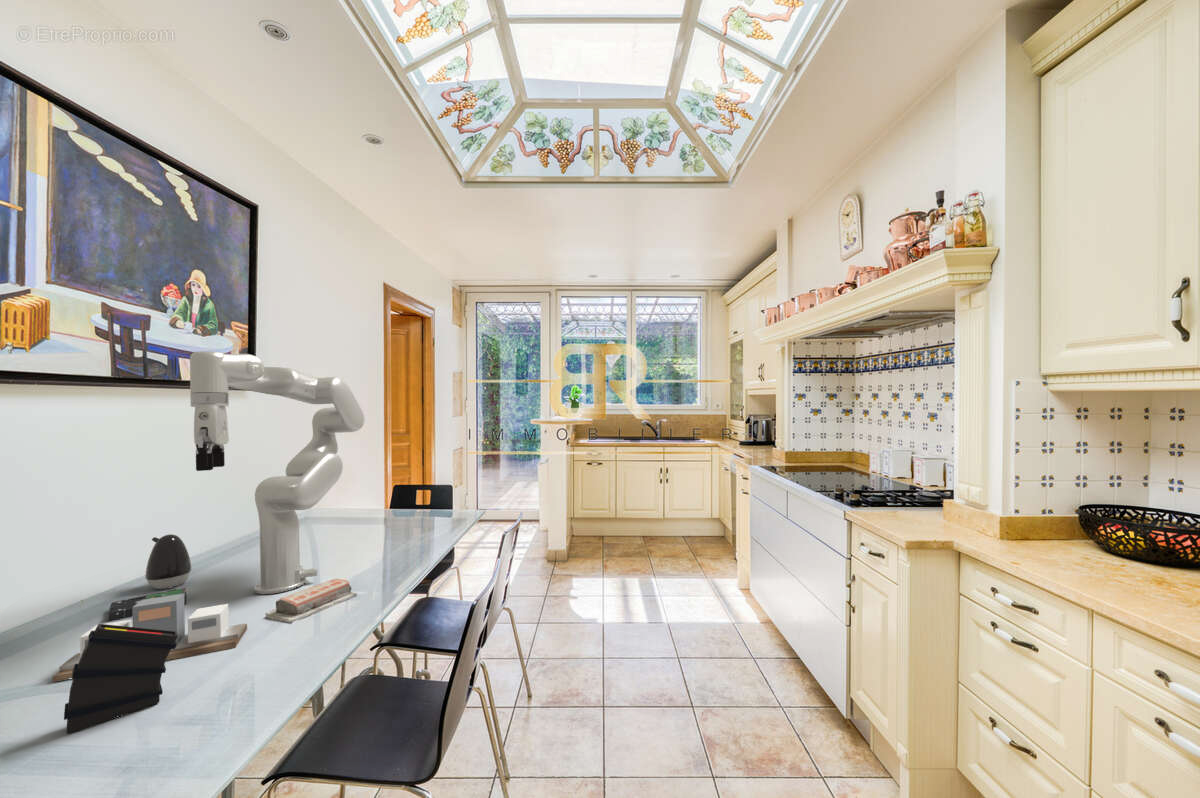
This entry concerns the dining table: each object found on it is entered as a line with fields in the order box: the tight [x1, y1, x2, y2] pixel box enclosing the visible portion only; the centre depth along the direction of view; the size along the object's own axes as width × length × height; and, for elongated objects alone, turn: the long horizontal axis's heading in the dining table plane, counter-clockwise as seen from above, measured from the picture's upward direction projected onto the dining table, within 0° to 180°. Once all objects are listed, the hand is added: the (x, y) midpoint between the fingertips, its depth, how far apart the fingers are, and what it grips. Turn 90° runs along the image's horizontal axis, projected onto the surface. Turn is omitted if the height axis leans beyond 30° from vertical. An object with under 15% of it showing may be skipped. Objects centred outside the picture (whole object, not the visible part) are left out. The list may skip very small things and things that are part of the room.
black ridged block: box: [63, 623, 178, 735], centre depth 80 cm, size 4×13×15 cm, turn 136°
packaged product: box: [264, 578, 358, 623], centre depth 124 cm, size 18×5×10 cm
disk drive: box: [107, 587, 188, 623], centre depth 127 cm, size 10×3×15 cm
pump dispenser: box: [144, 533, 192, 590], centre depth 144 cm, size 10×10×15 cm
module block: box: [132, 594, 186, 644], centre depth 101 cm, size 7×5×9 cm
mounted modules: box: [79, 603, 230, 658], centre depth 101 cm, size 22×6×5 cm, turn 115°
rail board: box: [52, 623, 248, 683], centre depth 101 cm, size 28×10×2 cm, turn 115°
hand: (210, 468), depth 122 cm, fingers open, 9 cm apart
